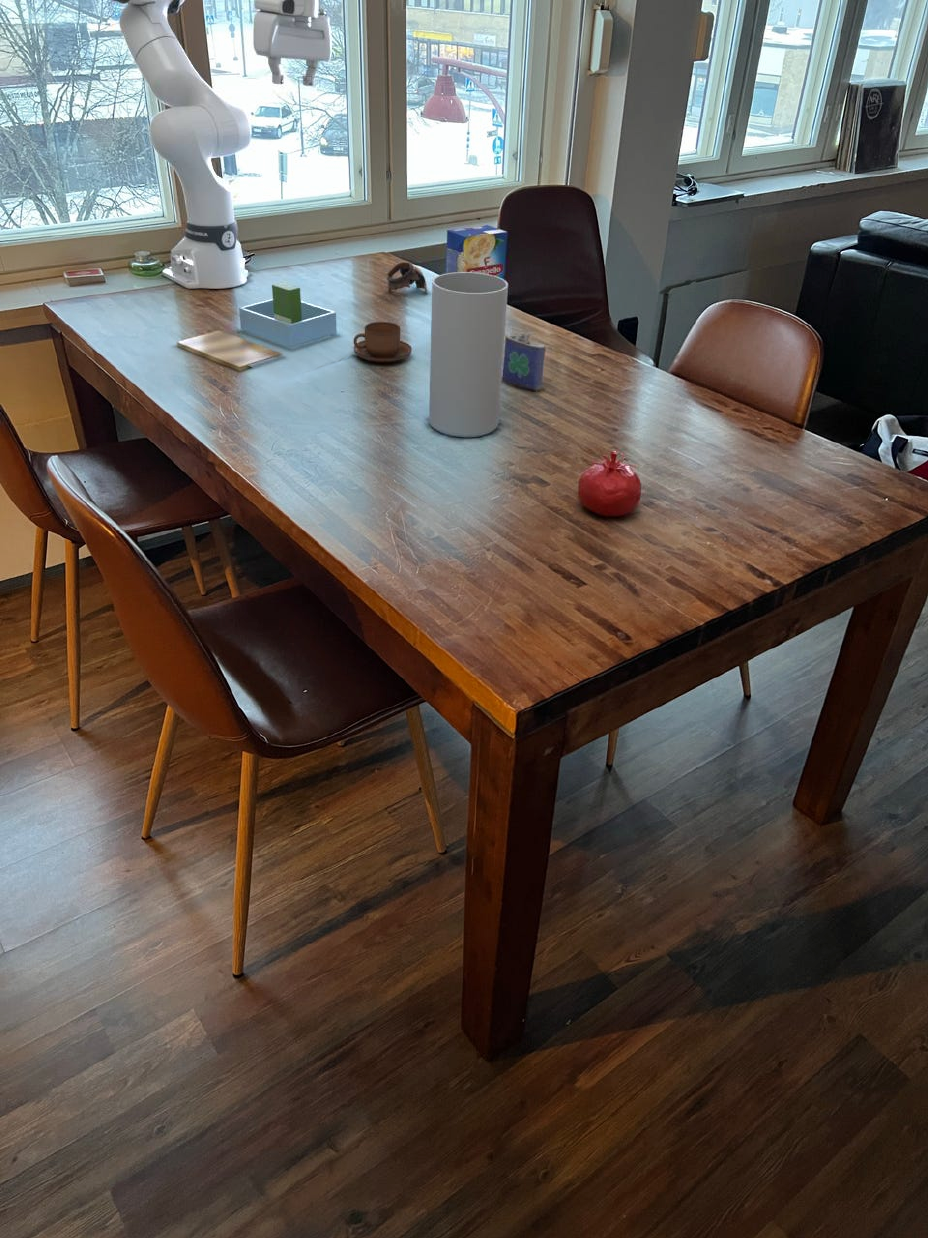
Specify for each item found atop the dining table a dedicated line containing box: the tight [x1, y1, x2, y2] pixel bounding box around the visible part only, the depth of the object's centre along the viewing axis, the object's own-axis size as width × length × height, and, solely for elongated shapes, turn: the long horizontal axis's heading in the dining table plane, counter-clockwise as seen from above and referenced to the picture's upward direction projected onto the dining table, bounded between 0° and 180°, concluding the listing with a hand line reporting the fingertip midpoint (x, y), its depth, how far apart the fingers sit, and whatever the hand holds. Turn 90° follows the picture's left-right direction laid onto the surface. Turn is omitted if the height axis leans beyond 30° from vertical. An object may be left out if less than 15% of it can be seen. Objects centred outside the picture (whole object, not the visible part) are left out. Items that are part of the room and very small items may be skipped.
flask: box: [501, 331, 546, 393], centre depth 181 cm, size 9×3×11 cm, turn 50°
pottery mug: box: [386, 260, 429, 295], centre depth 232 cm, size 12×10×8 cm
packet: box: [271, 281, 302, 324], centre depth 200 cm, size 6×3×10 cm, turn 51°
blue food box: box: [445, 224, 508, 280], centre depth 202 cm, size 7×11×22 cm, turn 127°
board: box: [176, 330, 283, 372], centre depth 192 cm, size 20×11×1 cm, turn 51°
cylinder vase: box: [428, 272, 509, 438], centre depth 160 cm, size 12×12×25 cm
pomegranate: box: [577, 450, 642, 518], centre depth 141 cm, size 10×10×9 cm
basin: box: [238, 298, 338, 348], centre depth 201 cm, size 16×13×5 cm
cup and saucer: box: [353, 321, 412, 363], centre depth 192 cm, size 12×12×6 cm
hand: (293, 84), depth 190 cm, fingers open, 8 cm apart
